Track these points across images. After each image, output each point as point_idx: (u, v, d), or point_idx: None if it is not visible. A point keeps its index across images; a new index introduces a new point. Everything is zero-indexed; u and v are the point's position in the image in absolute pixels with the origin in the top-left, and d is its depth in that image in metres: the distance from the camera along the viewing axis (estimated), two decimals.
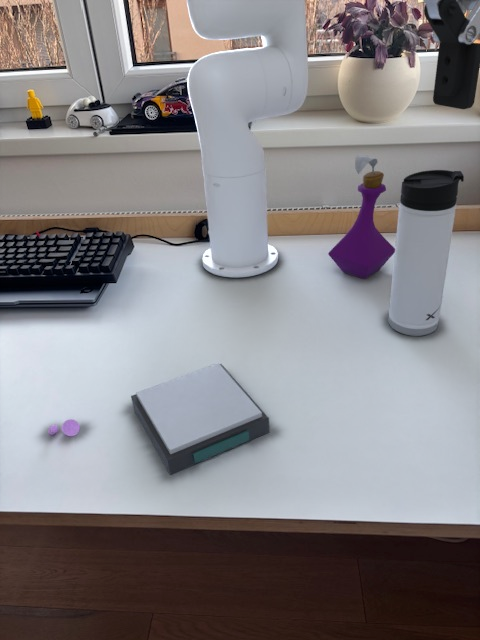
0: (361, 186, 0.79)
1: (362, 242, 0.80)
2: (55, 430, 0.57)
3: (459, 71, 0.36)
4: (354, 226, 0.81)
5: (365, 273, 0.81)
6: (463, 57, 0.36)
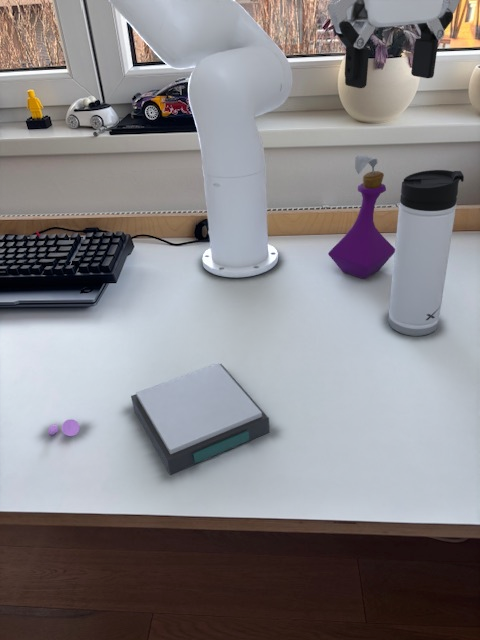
0: (361, 186, 0.79)
1: (362, 242, 0.80)
2: (55, 430, 0.57)
3: (356, 65, 0.60)
4: (354, 226, 0.81)
5: (365, 273, 0.81)
6: (358, 56, 0.59)
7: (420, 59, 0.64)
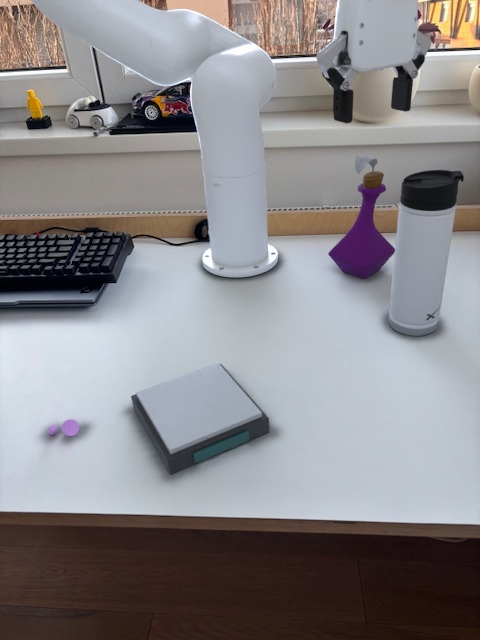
0: (361, 186, 0.79)
1: (362, 242, 0.80)
2: (55, 430, 0.57)
3: (342, 103, 0.69)
4: (354, 226, 0.81)
5: (365, 273, 0.81)
6: (344, 96, 0.68)
7: (398, 95, 0.73)
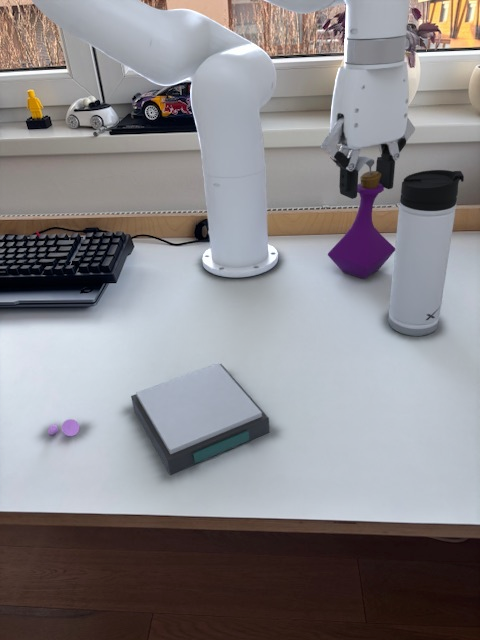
0: (359, 186, 0.79)
1: (361, 242, 0.80)
2: (55, 430, 0.57)
3: (348, 181, 0.75)
4: (353, 226, 0.81)
5: (365, 273, 0.81)
6: (349, 175, 0.75)
7: (381, 174, 0.79)
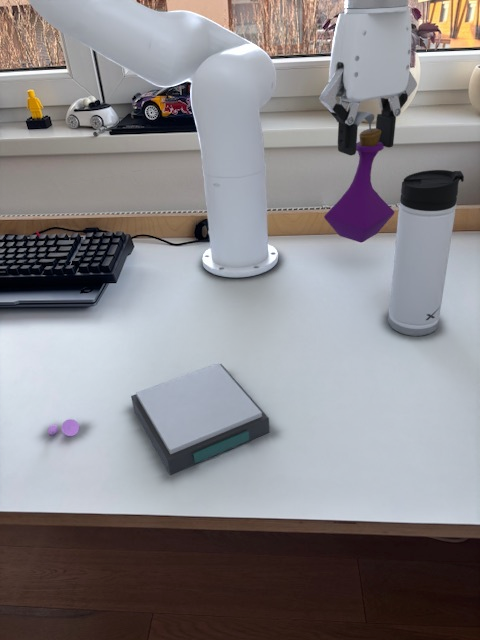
0: (358, 144, 0.76)
1: (359, 203, 0.77)
2: (55, 430, 0.57)
3: (347, 137, 0.72)
4: (351, 187, 0.78)
5: (362, 236, 0.78)
6: (348, 130, 0.72)
7: (381, 131, 0.76)
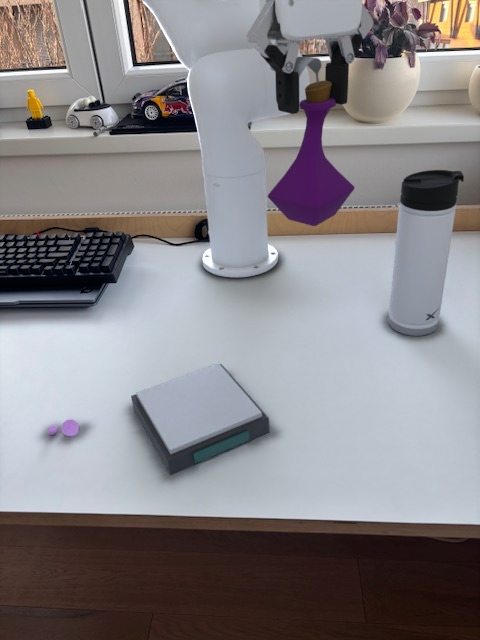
0: (303, 102, 0.60)
1: (308, 176, 0.61)
2: (54, 430, 0.57)
3: (287, 89, 0.56)
4: (298, 157, 0.62)
5: (315, 218, 0.62)
6: (288, 81, 0.56)
7: (332, 84, 0.60)
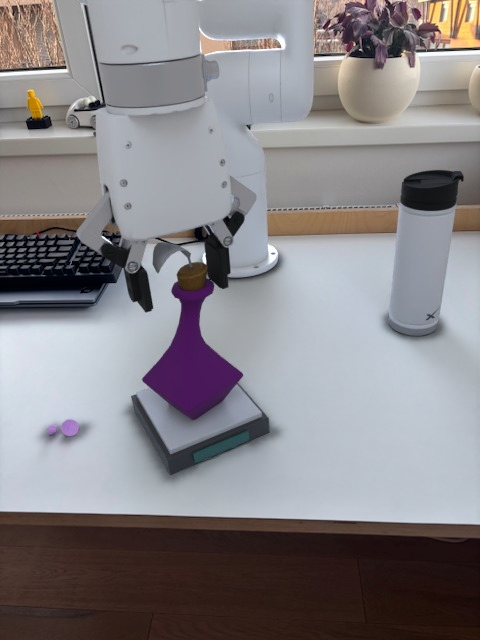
0: (176, 285, 0.51)
1: (181, 370, 0.51)
2: (54, 430, 0.57)
3: (135, 287, 0.46)
4: (172, 344, 0.53)
5: (190, 416, 0.53)
6: (135, 278, 0.46)
7: (212, 265, 0.50)
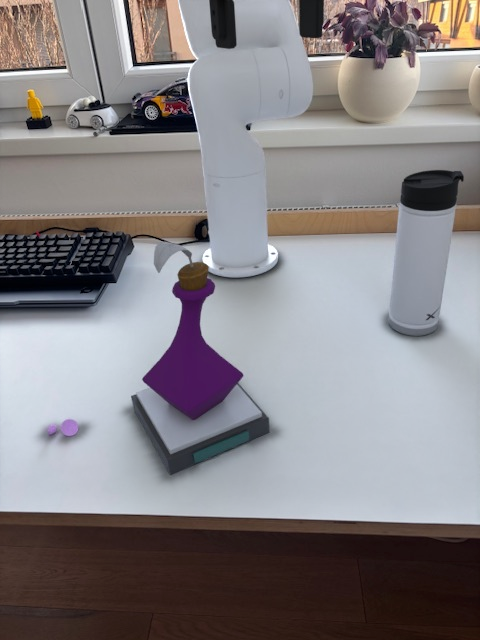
0: (177, 285, 0.51)
1: (181, 370, 0.51)
2: (54, 430, 0.57)
3: (221, 20, 0.50)
4: (173, 343, 0.53)
5: (190, 416, 0.53)
6: (222, 9, 0.49)
7: (306, 16, 0.54)
